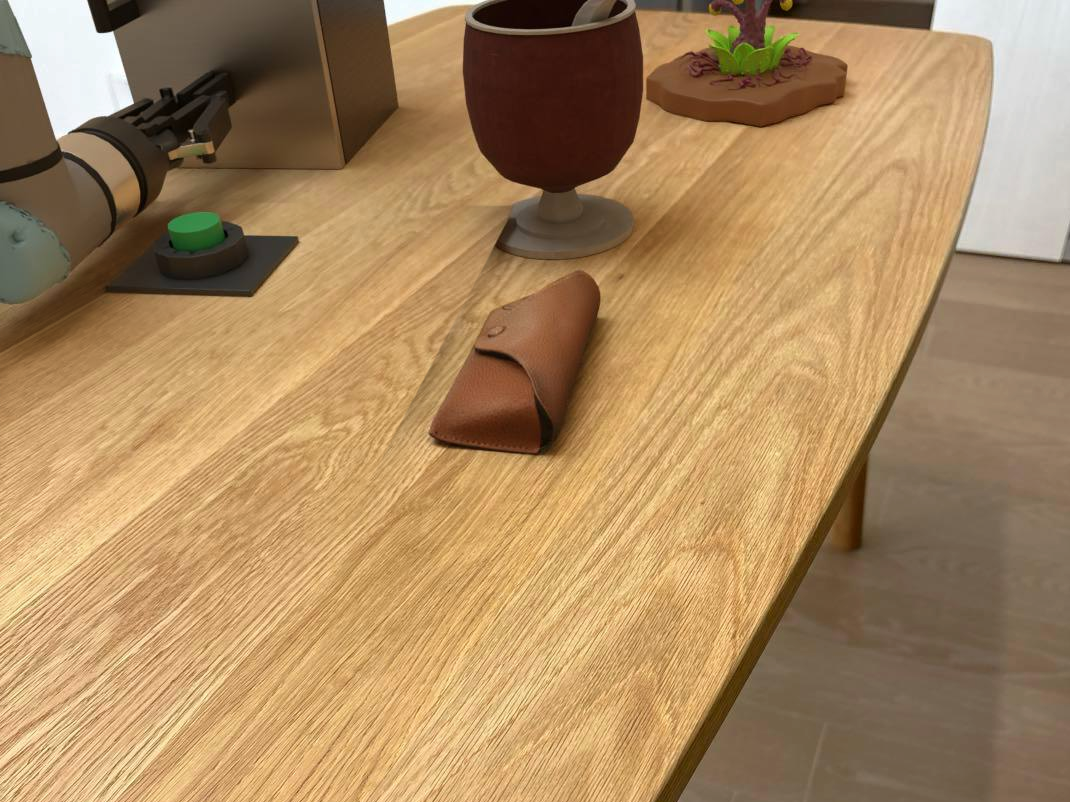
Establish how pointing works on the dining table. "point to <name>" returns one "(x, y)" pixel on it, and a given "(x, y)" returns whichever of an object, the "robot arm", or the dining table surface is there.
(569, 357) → the sunglasses case
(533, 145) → the mate gourd
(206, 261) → the panel
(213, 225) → the button
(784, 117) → the plant
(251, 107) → the dishwasher door
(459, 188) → the dining table surface
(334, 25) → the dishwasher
